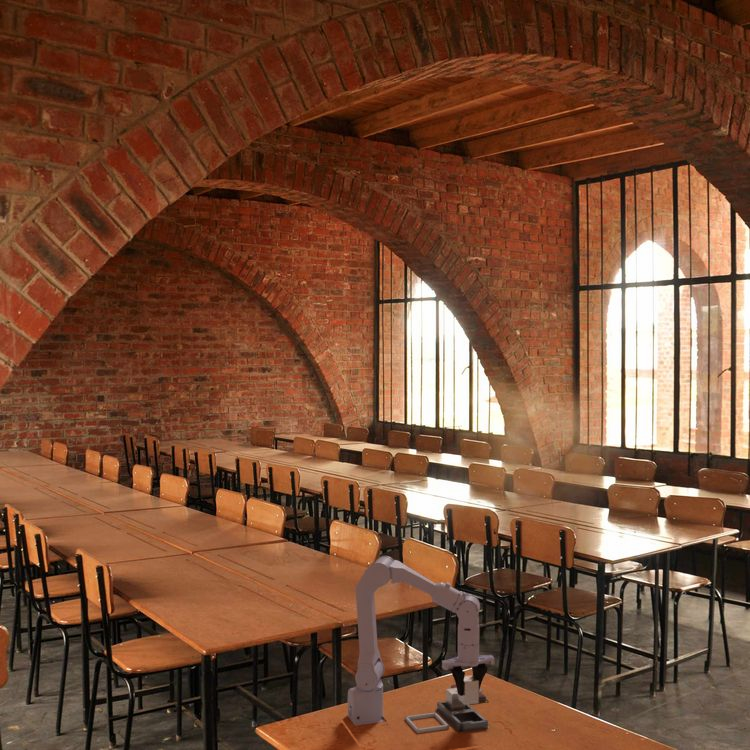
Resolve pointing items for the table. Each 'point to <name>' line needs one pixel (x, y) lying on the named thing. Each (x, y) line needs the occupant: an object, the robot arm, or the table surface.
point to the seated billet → (453, 700)
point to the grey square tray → (444, 726)
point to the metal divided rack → (463, 718)
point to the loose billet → (470, 691)
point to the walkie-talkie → (481, 696)
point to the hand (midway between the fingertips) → (468, 693)
